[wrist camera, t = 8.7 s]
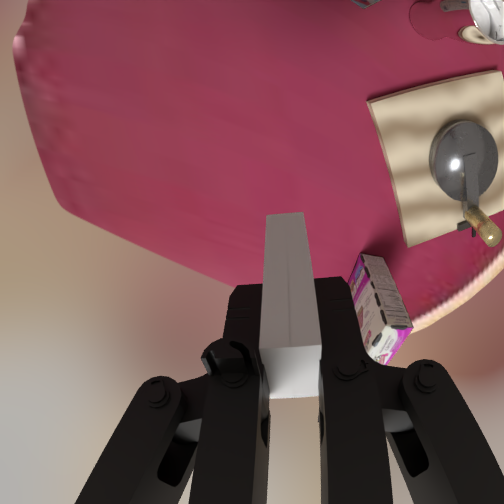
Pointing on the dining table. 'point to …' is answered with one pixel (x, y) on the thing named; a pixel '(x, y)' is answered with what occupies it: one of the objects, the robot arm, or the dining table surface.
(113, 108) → the dining table surface
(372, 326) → the candy bar box
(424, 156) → the stand
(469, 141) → the grey round handled piece
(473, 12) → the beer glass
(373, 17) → the dining table surface
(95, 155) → the dining table surface
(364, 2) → the juice carton
